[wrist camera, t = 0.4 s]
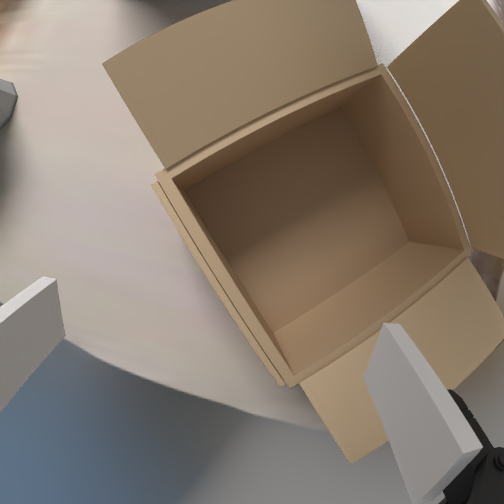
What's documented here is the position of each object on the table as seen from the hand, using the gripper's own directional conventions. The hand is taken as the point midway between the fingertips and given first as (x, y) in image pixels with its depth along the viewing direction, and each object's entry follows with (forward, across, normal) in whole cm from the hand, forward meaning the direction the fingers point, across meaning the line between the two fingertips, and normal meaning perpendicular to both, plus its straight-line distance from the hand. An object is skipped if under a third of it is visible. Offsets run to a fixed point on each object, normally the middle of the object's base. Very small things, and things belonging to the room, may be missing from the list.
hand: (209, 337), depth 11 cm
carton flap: (+10, +19, +11) cm, 24 cm away
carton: (+27, +8, 0) cm, 28 cm away
